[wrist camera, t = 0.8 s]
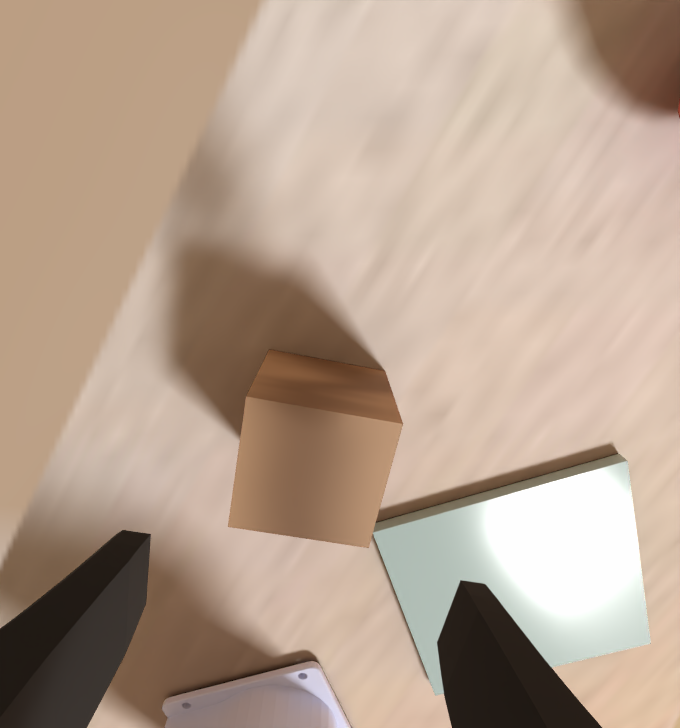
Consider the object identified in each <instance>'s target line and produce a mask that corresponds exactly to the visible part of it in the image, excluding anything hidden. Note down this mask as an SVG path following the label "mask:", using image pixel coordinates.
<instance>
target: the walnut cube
mask: <svg viewBox="0 0 680 728" xmlns="http://www.w3.org/2000/svg"><path fill="white" fill-rule="evenodd" d="M402 426H403V423H402V420H401V417H400V414H399V411H398V408H397V405H396V402H395V399H394V396H393V393H392V390H391V387H390V384H389V381H388V378H387V375H386V372H385V371H383V370H378V369H372V368H367V367H361V366H356V365H351V364H345V363H340V362H334V361H329V360H324V359H318V358H313V357H307V356H302V355H297V354H291V353H286V352H280V351H275V350H270V349H269V351H268V353H267V355H266V357H265V359H264V361H263V363H262V365H261V367H260V369H259V371H258V373H257V375H256V377H255V379H254V381H253V383H252V385H251V387H250V389H249V391H248V393H247V396H246V400H245V407H244V415H243V422H242V429H241V436H240V443H239V451H238V458H237V465H236V472H235V479H234V487H233V494H232V501H231V508H230V515H229V523H228V527H233V528H240V529H246V530H253V531H259V532H266V533H273V534H279V535H286V536H293V537H299V538H306V539H313V540H319V541H326V542H332V543H339V544H346V545H352V546H359V547H366V548H369V545H370V541H371V538H372V534H373V531H374V527H375V523H376V520H377V516H378V512H379V509H380V505H381V502H382V498H383V494H384V491H385V487H386V484H387V480H388V476H389V473H390V469H391V466H392V462H393V458H394V455H395V451H396V448H397V444H398V440H399V437H400V433H401V430H402Z"/></svg>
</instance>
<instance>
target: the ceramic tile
mask: <svg viewBox="0 0 680 728" xmlns="http://www.w3.org/2000/svg"><path fill="white" fill-rule="evenodd" d="M373 535H374V538H375V540H376V543H377V545H378V548H379V551H380V553H381V556H382V558H383V561H384V564H385V566H386V569H387V571H388V574H389V577H390V579H391V582H392V584H393V587H394V590H395V592H396V595H397V597H398V600H399V603H400V605H401V608H402V610H403V613H404V616H405V618H406V621H407V623H408V626H409V629H410V631H411V634H412V636H413V639H414V642H415V644H416V647H417V649H418V652H419V654H420V657H421V660H422V662H423V665H424V667H425V670H426V673H427V675H428V678H429V680H430V683H431V686H432V688H433V691H434V693H435V696H436V695H440V694H444V690H443V684H442V677H441V671H440V663H439V655H438V647H437V641H438V638H439V636H440V633H441V630H442V628H443V625H444V623H445V620H446V617H447V615H448V612H449V609H450V607H451V604H452V601H453V599H454V596H455V593H456V591H457V588H458V585H459V583H460V580H463V581H470V582H477V583H483V584H486V585H487V587H488V588H489V589H490V590H491V591H492V593H493V594H494V595H495V596H496V598H497V599H498V600H499V602H500V603H501V604H502V605H503V607H504V608H505V609H506V611H507V612H508V613H509V614H510V616H511V617H512V618H513V620H514V621H515V622H516V623H517V625H518V626H519V627H520V629H521V630H522V631H523V632H524V634H525V635H526V636H527V638H528V639H529V640H530V641H531V643H532V644H533V645H534V646H535V648H536V649H537V650H538V652H539V653H540V654H541V655H542V657H543V658H544V659H545V660H546V662H547V663H548V664H549V665H550V667H551V668H552V667H556V666H560V665H564V664H568V663H572V662H576V661H581V660H585V659H589V658H593V657H597V656H601V655H605V654H610V653H614V652H618V651H622V650H626V649H630V648H634V647H639V646H643V645H647V644H651V641H650V633H649V625H648V617H647V610H646V602H645V594H644V586H643V578H642V570H641V562H640V555H639V547H638V539H637V531H636V523H635V515H634V507H633V500H632V492H631V484H630V476H629V468H628V461H627V460H626V459H625V458H624V457H622V456H621V455H620V454H616V455H613V456H609V457H606V458H602V459H599V460H595V461H592V462H588V463H585V464H581V465H578V466H574V467H571V468H567V469H564V470H560V471H556V472H553V473H549V474H546V475H542V476H539V477H535V478H532V479H528V480H525V481H521V482H518V483H514V484H511V485H507V486H504V487H500V488H497V489H493V490H490V491H486V492H483V493H479V494H476V495H472V496H469V497H465V498H462V499H458V500H455V501H451V502H448V503H444V504H440V505H437V506H433V507H430V508H426V509H423V510H419V511H416V512H412V513H409V514H405V515H402V516H398V517H395V518H391V519H388V520H384V521H381V522H377V523H375V527H374V531H373Z"/></svg>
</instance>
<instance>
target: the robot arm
mask: <svg viewBox="0 0 680 728" xmlns="http://www.w3.org/2000/svg"><path fill="white" fill-rule="evenodd" d="M150 537H151V534H146V533H139V532H132V531H126V530H122V531H121V532H119V533H118V534H116V535H115V536H114V537H113V538H112V539H111V540H109V541H108V542H107V543H106V544H105V545H104V546H102V547H101V548H100V549H99V550H98V551H97V552H95V553H94V554H93V555H92V556H91V557H90V558H88V559H87V560H86V561H85V562H84V563H82V564H81V565H80V566H79V567H78V568H76V569H75V570H74V571H73V572H72V573H70V574H69V575H68V576H67V577H66V578H64V579H63V580H62V581H61V582H60V583H58V584H57V585H56V586H55V587H53V588H52V589H51V590H50V591H48V592H47V593H46V594H45V595H43V596H42V597H41V598H40V599H38V600H37V601H36V602H34V603H33V604H32V605H31V606H29V607H28V608H27V609H26V610H24V611H23V612H22V613H20V614H19V615H18V616H17V617H15V618H14V619H13V620H11V621H10V622H9V623H7V624H6V625H4V626H3V627H2V628H0V728H87V726H88V724H89V723H90V721H91V719H92V717H93V715H94V713H95V711H96V709H97V707H98V705H99V704H100V702H101V700H102V698H103V696H104V694H105V692H106V690H107V688H108V686H109V684H110V683H111V681H112V679H113V677H114V675H115V673H116V671H117V669H118V667H119V665H120V663H121V661H122V659H123V657H124V656H125V654H126V651H127V649H128V646H129V644H130V642H131V639H132V637H133V634H134V632H135V630H136V627H137V625H138V622H139V620H140V617H141V615H142V612H143V610H144V607H145V605H146V597H147V582H148V567H149V552H150ZM437 647H438V655H439V663H440V671H441V677H442V684H443V690H444V696H445V700H446V705H447V709H448V713H449V717H450V721H451V725H452V728H602V727H601V726H600V725H599V723H598V722H597V721H596V720H595V719H594V718H593V717H592V715H591V714H590V713H589V712H588V711H587V710H586V709H585V707H584V706H583V705H582V704H581V703H580V702H579V700H578V699H577V698H576V697H575V696H574V694H573V693H572V692H571V691H570V690H569V688H568V687H567V686H566V685H565V684H564V682H563V681H562V680H561V679H560V678H559V676H558V675H557V674H556V673H555V671H554V670H553V669H552V668H551V667H550V665H549V664H548V663H547V662H546V660H545V659H544V658H543V657H542V655H541V654H540V653H539V652H538V650H537V649H536V648H535V646H534V645H533V644H532V643H531V641H530V640H529V639H528V638H527V636H526V635H525V634H524V632H523V631H522V630H521V629H520V627H519V626H518V625H517V623H516V622H515V621H514V620H513V618H512V617H511V616H510V614H509V613H508V612H507V611H506V609H505V608H504V607H503V605H502V604H501V603H500V602H499V600H498V599H497V598H496V596H495V595H494V594H493V593H492V591H491V590H490V589H489V588H488V587H487V585H486V584H483V583H477V582H470V581H463V580H460V583H459V585H458V588H457V591H456V593H455V596H454V599H453V601H452V604H451V607H450V609H449V612H448V615H447V617H446V620H445V623H444V625H443V628H442V630H441V633H440V636H439V638H438V641H437ZM162 710H163V712H164V714H165V715H166V716H167V721H166V724H165V727H164V728H351V726H350V724H349V722H348V720H347V718H346V716H345V714H344V712H343V710H342V708H341V706H340V704H339V702H338V700H337V698H336V696H335V694H334V692H333V690H332V688H331V686H330V684H329V682H328V680H327V678H326V676H325V674H324V672H323V670H322V668H321V666H320V665H319V664H318V663H317V662H315V661H308V662H304V663H301V664H297V665H293V666H289V667H285V668H281V669H277V670H273V671H269V672H265V673H262V674H258V675H254V676H250V677H246V678H242V679H238V680H234V681H230V682H227V683H223V684H219V685H215V686H211V687H207V688H203V689H199V690H195V691H191V692H188V693H184V694H180V695H176V696H172V697H169V698H166V699H165V700H164V703H163V706H162Z"/></svg>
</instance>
